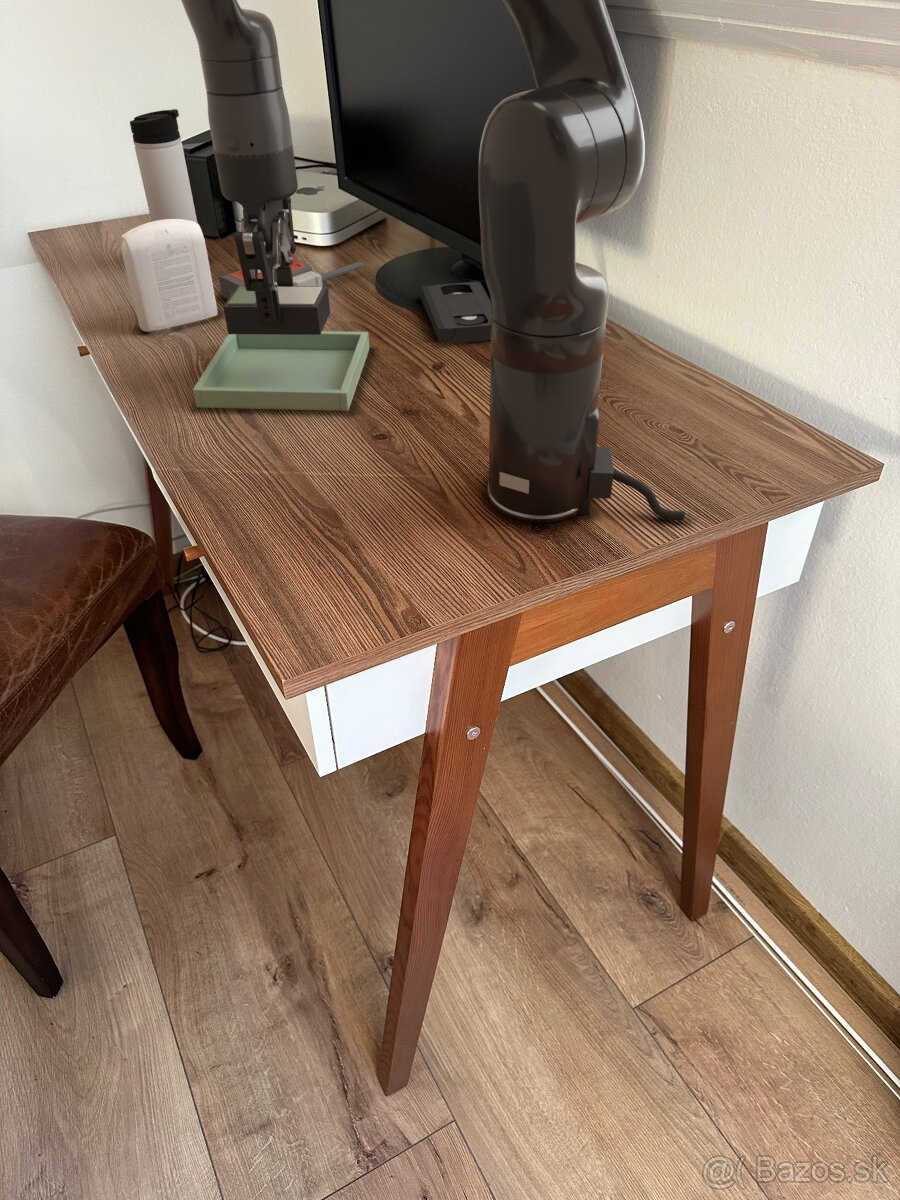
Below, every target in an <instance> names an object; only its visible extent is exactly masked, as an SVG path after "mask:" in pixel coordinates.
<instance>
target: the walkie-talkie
mask: <svg viewBox="0 0 900 1200" xmlns="http://www.w3.org/2000/svg"><path fill="white" fill-rule="evenodd" d="M292 257H293V264H292V265H289V267H291V270H292V277H293V285H294V286H323V284H325V283H327V282H328V281H332V280H333V279H336V278H340V277H343V276H345V275H348V274H349V273H350V272H351V271H354V270H357V269H359V268H363V267H364V265H363V262H361V261H356V262H354V263H351V264H348V265H344V266H342V267H339V268H336V269H333V270H330V271H326V272H321V273H317V272H315V271H313V267H312V265H311V264H310V263H308V262H306V261H303V260H301V259H298V257H297V255H295V254H292ZM258 278H263V276H262V272H261V271H260V270H258ZM218 280H219V285H220V291H221V296H222V298H224V299H226V300H228V299H229V298H230V297H231V295H232V294H233V292H234V291H235V290H236V288H237V287H238V286H245V283H244V278H243V274H242V269H240V270H237V271H234V272H230V273H226V274H224V275H221V276H219V277H218Z"/></svg>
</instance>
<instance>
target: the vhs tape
mask: <svg viewBox="0 0 900 1200" xmlns="http://www.w3.org/2000/svg"><path fill="white" fill-rule="evenodd" d="M420 296H421V297H420V298H421V304H422V305H423V308H424V309H425V312H426V313H427V316H428V318H429V321H430V323H431V326H432V328H433V331H434V332H435V337H436V338H437V342H438V343H439V344H441V343H446V342H447V343H451V342H460V341H468V343H477V342H487V341H491V298H490V297H489V296H488V294H487V292H486V290H485V288H484V286H483V285H482V283H481V282H480V281H467V282H466V281H465V282H455V283H453V282H452V283H442V284H435V285H434V284H424V285H420Z"/></svg>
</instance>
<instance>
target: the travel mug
mask: <svg viewBox="0 0 900 1200" xmlns="http://www.w3.org/2000/svg"><path fill="white" fill-rule="evenodd" d="M179 116H180V113H179V109H177V108H173V109H172V108H171V109H164V110H157V111H151V112H147V113H143V114H140V115H137V116H135V117H133V120H129V126H130V131H131V133H132V142H133V145H134V150H135V154H136V155H135V156H136V159H137V164H138V168H139V173H140V177H141V183H142V186H143V191H144V195H145V199H146V203H147V208H148V212H149V216H150V222H153V221H157V220H164V219H183V220H190V221H194V222H195V223H197V224H199V223H198V219H197V214H196V213H197V212H196V209H195V204H194V197H193V193H192V192H193V191H192V187H191V182H190V178H189V172H188V167H187V163H186V158H185V152H184V147H183V142H182V136H181V133H180V131H179V129H180V128H179V124H178V119H177V118H179Z"/></svg>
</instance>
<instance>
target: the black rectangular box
mask: <svg viewBox="0 0 900 1200" xmlns="http://www.w3.org/2000/svg"><path fill="white" fill-rule="evenodd" d="M277 290H278V296H279V303H280V310H281V317H282V322H281V323H280V325H279V326H263V325H261V323H260V320H259V314H258V308H257V302H256V296H255V291H247V290H246V288H245V286H238V287H237V288H236V290H235V291H234V292H233V294H232V295H231V297H230V298H229V299H227V301H226V302H225V304H224V305H223V306H222V309H223V313H224V319H225V325H226V330H227V335H228V334H278V335H320V334H321V332H322V331H324V328H325V325H326V323H327V321H328V319H329V317H330V315H331V306H330V305H331V304H330V298H329V289H328V286H325V285H322V286H278V287H277Z"/></svg>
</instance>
